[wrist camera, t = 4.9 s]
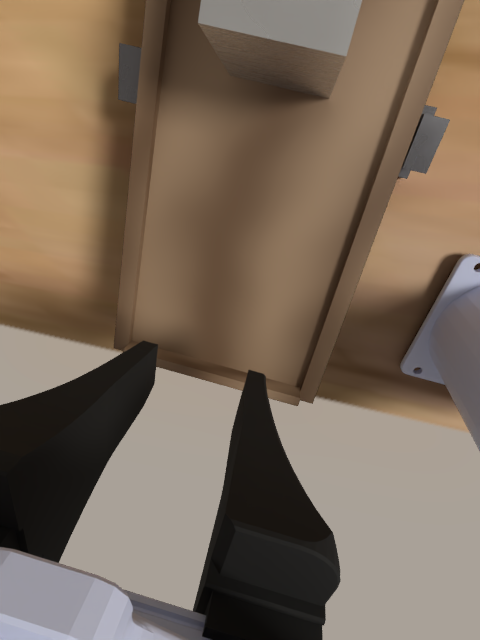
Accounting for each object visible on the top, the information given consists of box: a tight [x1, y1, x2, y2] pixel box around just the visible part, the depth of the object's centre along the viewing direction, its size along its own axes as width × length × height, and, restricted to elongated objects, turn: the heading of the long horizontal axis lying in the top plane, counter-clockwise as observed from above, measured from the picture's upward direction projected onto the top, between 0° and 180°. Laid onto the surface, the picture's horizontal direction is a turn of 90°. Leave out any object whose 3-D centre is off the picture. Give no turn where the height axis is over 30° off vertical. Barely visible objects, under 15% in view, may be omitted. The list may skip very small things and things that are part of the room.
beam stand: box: [118, 43, 450, 179], centre depth 17 cm, size 14×17×3 cm
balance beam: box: [114, 0, 464, 406], centre depth 15 cm, size 11×18×2 cm, turn 168°
